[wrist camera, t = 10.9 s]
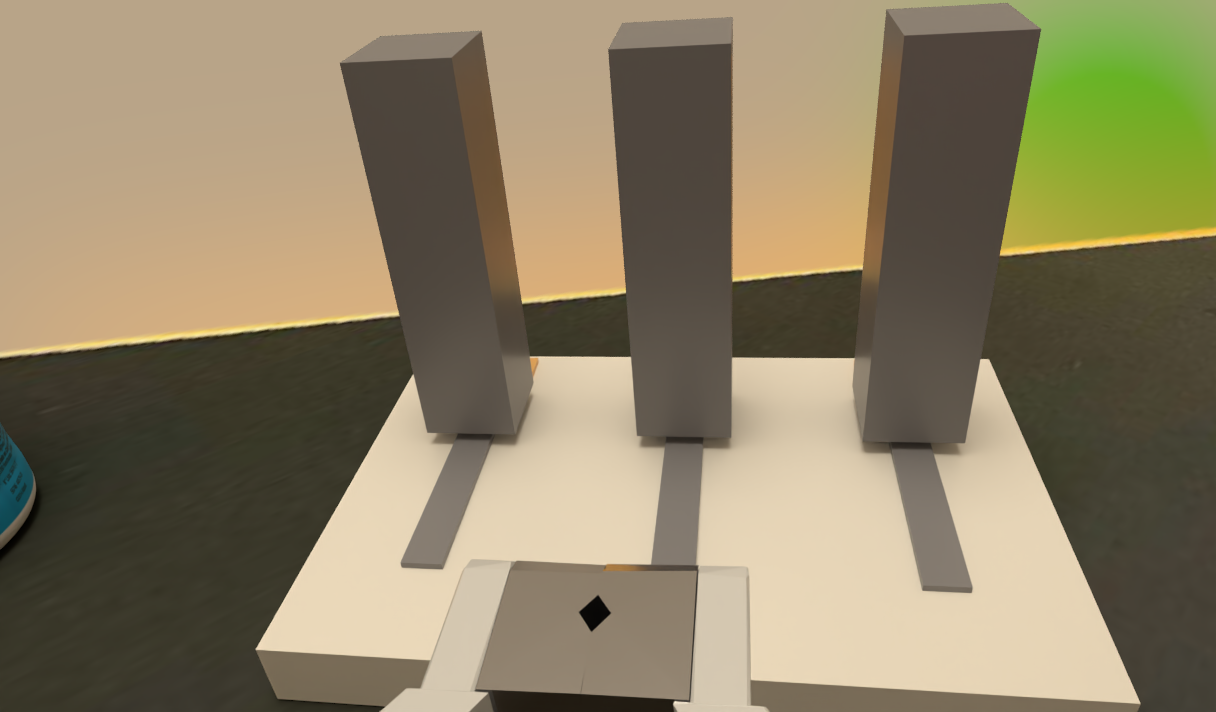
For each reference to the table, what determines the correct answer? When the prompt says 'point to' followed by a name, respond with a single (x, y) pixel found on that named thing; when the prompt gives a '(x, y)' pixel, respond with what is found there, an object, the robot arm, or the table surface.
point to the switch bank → (722, 544)
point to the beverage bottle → (13, 488)
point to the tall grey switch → (937, 213)
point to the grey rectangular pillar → (676, 219)
